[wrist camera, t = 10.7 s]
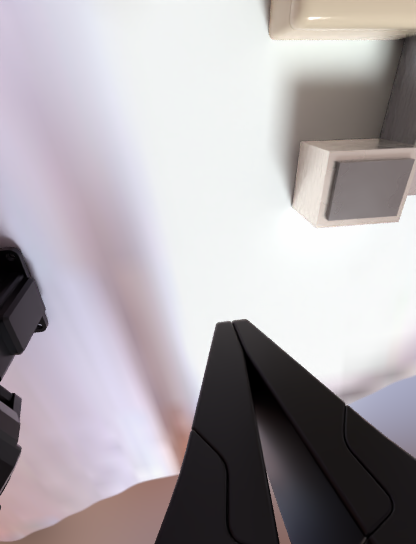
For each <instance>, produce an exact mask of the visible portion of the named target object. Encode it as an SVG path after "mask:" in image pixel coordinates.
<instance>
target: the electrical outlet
mask: <svg viewBox="0 0 416 544" xmlns="http://www.w3.org/2000/svg"><path fill="white" fill-rule="evenodd" d="M415 35H416V0H271V6H270V21H269V36H270V38H271V39H273V40H397V39H401V38H406V37H411V36H415Z"/></svg>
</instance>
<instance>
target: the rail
mask: <svg viewBox="0 0 416 544" xmlns="http://www.w3.org/2000/svg"><path fill="white" fill-rule="evenodd" d="M407 195H416V35H415V36H411V37H406V38H405V42H404V46H403V50H402V54H401V58H400V62H399V65H398V69H397V73H396V77H395V81H394V85H393V89H392V93H391V97H390V100H389V104H388V108H387V112H386V116H385V120H384V124H383V128H382V132H381V136H380V138H371V139H348V140H324V141H301V143H300V151H299V158H298V166H297V174H296V181H295V189H294V196H293V204H292V208H293V209H294V210H296V211H297V212H298V213H299V214H300V215H301V216H302V217H304V218H305V219H306V220H307V221H308V222H309V223H311V224H312V225H313V226H314V227H315V228H323V227H336V226H349V225H363V224H376V223H389V222H399V219H400V216H401V213H402V210H403V207H404V204H405V201H406V198H407Z"/></svg>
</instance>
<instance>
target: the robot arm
mask: <svg viewBox="0 0 416 544" xmlns="http://www.w3.org/2000/svg"><path fill="white" fill-rule="evenodd" d="M9 254H12V255H14V256H15V258H12V257H10V256H9ZM45 310H46V309H45V306H44V303H43V301H42V298H41V295H40V293H39V290H38V287H37V285H36V282H35V280H34V279H33V278H32V277H31V276H30V274H29V271H28V269H27V266H26V263H25V261H24V258H23V256H22V253H21V252H20V251H19V250H18V249H17V248H14V247H5V248H0V381H1V380H2V378H3V376H4V375H5V373H6V371H7V369H8V367H9V366H10V364H11V362H12V360H13V358H14V356H15V355H19V354H22V353H23V351H24V350H25V348H26V347H27V345H28V343H29V341H30V339H31V337H32V335H33V333H35V332H43V331H45V330H46V328H47V326H48V320H47V318H46V315H45V313H44V312H45ZM38 324H41V325H42V326H41V325H38ZM21 400H22V399H21V398H20V397H19V396H18V395H16V394H15V393H10V392H9V391H8V390H6V389H5V388H4V387H2V386H1V385H0V495H1V494H2V492H3V491H4V489H5V487H6V485H7V483H8V481H9V480H10V477H11V475H12V473H13V471H14V469H15V466H16V464H17V462H18V459H19V457H20V454H21V446H20V445H18V444H17V443H18V437H19V430H20V411H21ZM266 471H267V473H266ZM267 474H268V477H269V480H270V483H271V486H272V489H273V492H274V495H275V498H276V501H277V504H278V507H279V509H280V512H281V515H282V518H283V521H284V524H285V527H286V530H287V533H288V536H289V539H290V542H291V544H416V459H415V458H414V457H413V456H411V455H410V454H409V453H407V452H406V451H405V450H403V449H402V448H401V447H399V446H398V445H397V444H395V443H394V442H393V441H391V440H390V439H389V438H387V437H386V436H385V435H383V434H382V433H381V432H380V431H379V430H377V429H376V428H375V427H374V426H372V425H371V424H370V423H369V422H368V421H366V420H365V419H364V418H363V417H361V416H360V415H359V414H358V413H357V412H356V411H354V410H353V409H352V408H351V407H350V406H348V405H346V406H345V402H344V401H342V400H341V399H340V398H339V397H338V396H337V395H335V394H334V393H333V392H332V391H331V390H329V389H328V388H327V387H326V386H325V385H324V384H322V383H321V382H320V381H319V380H318V379H317V378H315V377H314V376H313V375H312V374H311V373H309V372H308V371H307V370H306V369H305V368H304V367H302V366H301V365H300V364H299V363H298V362H297V361H295V360H294V359H293V358H292V357H291V356H289V355H288V354H287V353H286V352H285V351H284V350H282V349H281V348H280V347H279V346H278V345H276V344H275V343H274V342H273V341H272V340H271V339H269V338H268V337H267V336H266V335H265V334H264V333H262V332H261V331H260V330H259V329H258V328H256V327H255V326H254V325H253V324H252V323H251V322H249V321H248V320H246V319H241V320H234V321H232V322H230V321H225V322H218V323H217V324H216V327H215V331H214V336H213V340H212V344H211V348H210V352H209V357H208V361H207V365H206V369H205V373H204V378H203V382H202V386H201V390H200V395H199V399H198V403H197V407H196V411H195V416H194V420H193V424H192V431H191V432H190V436H189V440H188V444H187V448H186V452H185V455H184V459H183V463H182V466H181V470H180V474H179V477H178V480H177V483H176V486H175V489H174V492H173V494H172V497H171V500H170V503H169V506H168V509H167V512H166V514H165V517H164V520H163V522H162V525H161V528H160V530H159V533H158V536H157V538H156V541H155V544H279V538H278V532H277V527H276V522H275V516H274V510H273V505H272V500H271V494H270V489H269V484H268V478H267ZM0 509H1V505H0Z"/></svg>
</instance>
